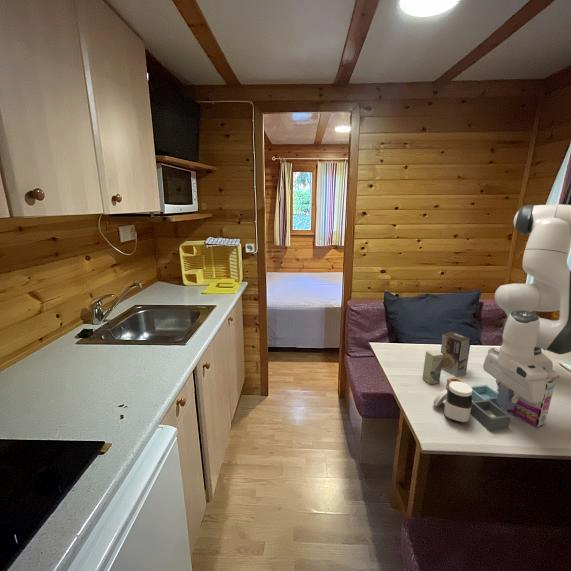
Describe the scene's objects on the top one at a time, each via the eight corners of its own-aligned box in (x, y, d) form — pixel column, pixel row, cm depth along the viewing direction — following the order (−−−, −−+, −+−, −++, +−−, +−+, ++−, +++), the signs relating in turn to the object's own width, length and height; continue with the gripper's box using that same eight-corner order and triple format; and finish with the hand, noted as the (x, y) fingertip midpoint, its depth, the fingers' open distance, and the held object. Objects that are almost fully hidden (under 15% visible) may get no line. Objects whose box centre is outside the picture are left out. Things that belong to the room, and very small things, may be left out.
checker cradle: (484, 408, 110) (486, 397, 109) (508, 428, 100) (510, 416, 99) (466, 410, 109) (468, 399, 108) (489, 431, 99) (491, 419, 98)
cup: (455, 388, 122) (457, 377, 120) (463, 395, 118) (465, 383, 116) (445, 389, 121) (447, 378, 120) (453, 396, 117) (454, 385, 116)
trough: (485, 393, 119) (486, 384, 118) (502, 406, 111) (503, 397, 110) (466, 395, 118) (467, 386, 117) (482, 408, 110) (483, 399, 109)
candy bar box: (546, 424, 102) (556, 380, 98) (537, 428, 100) (547, 384, 96) (510, 404, 112) (519, 363, 108) (501, 408, 110) (509, 367, 106)
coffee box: (466, 373, 132) (472, 338, 128) (456, 377, 130) (461, 341, 125) (447, 363, 140) (452, 330, 136) (437, 367, 138) (442, 333, 133)
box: (429, 384, 125) (432, 355, 121) (421, 379, 129) (425, 350, 125) (440, 382, 126) (444, 354, 123) (432, 377, 130) (436, 349, 127)
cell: (505, 402, 107) (510, 378, 104) (513, 409, 103) (519, 384, 100) (495, 403, 106) (500, 379, 103) (504, 410, 103) (509, 385, 100)
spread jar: (469, 429, 100) (474, 398, 97) (430, 418, 106) (434, 388, 102) (468, 408, 110) (473, 379, 107) (433, 399, 116) (437, 371, 113)
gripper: (481, 346, 109) (475, 380, 113) (534, 378, 90) (524, 418, 94) (497, 344, 110) (491, 378, 114) (553, 376, 91) (543, 416, 94)
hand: (506, 397), depth 104 cm, fingers closed on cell, 3 cm apart
